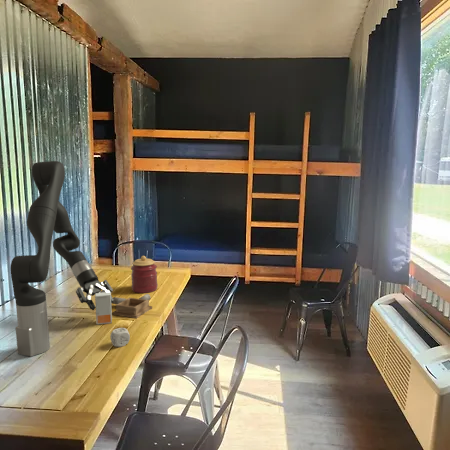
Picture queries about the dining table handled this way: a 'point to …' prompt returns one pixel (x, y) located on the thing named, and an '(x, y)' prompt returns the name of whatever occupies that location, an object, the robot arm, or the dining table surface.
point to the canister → (144, 275)
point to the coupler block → (132, 306)
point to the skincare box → (103, 308)
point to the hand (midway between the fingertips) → (103, 305)
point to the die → (120, 337)
